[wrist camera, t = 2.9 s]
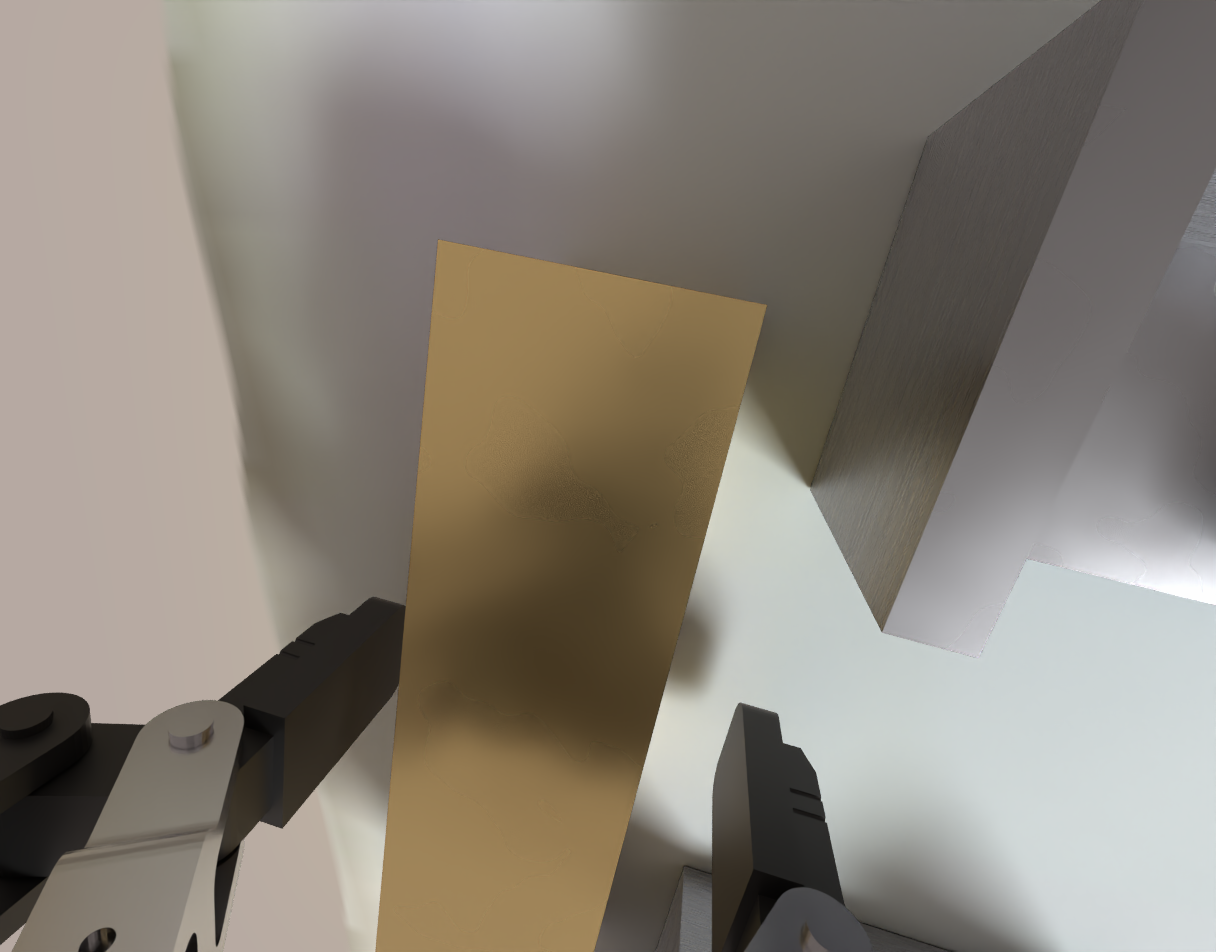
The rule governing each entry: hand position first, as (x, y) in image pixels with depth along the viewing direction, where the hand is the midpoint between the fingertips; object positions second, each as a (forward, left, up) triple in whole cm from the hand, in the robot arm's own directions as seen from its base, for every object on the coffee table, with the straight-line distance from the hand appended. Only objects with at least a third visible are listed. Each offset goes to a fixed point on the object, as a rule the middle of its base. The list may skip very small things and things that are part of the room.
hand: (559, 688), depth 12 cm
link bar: (0, 0, -1) cm, 1 cm away
